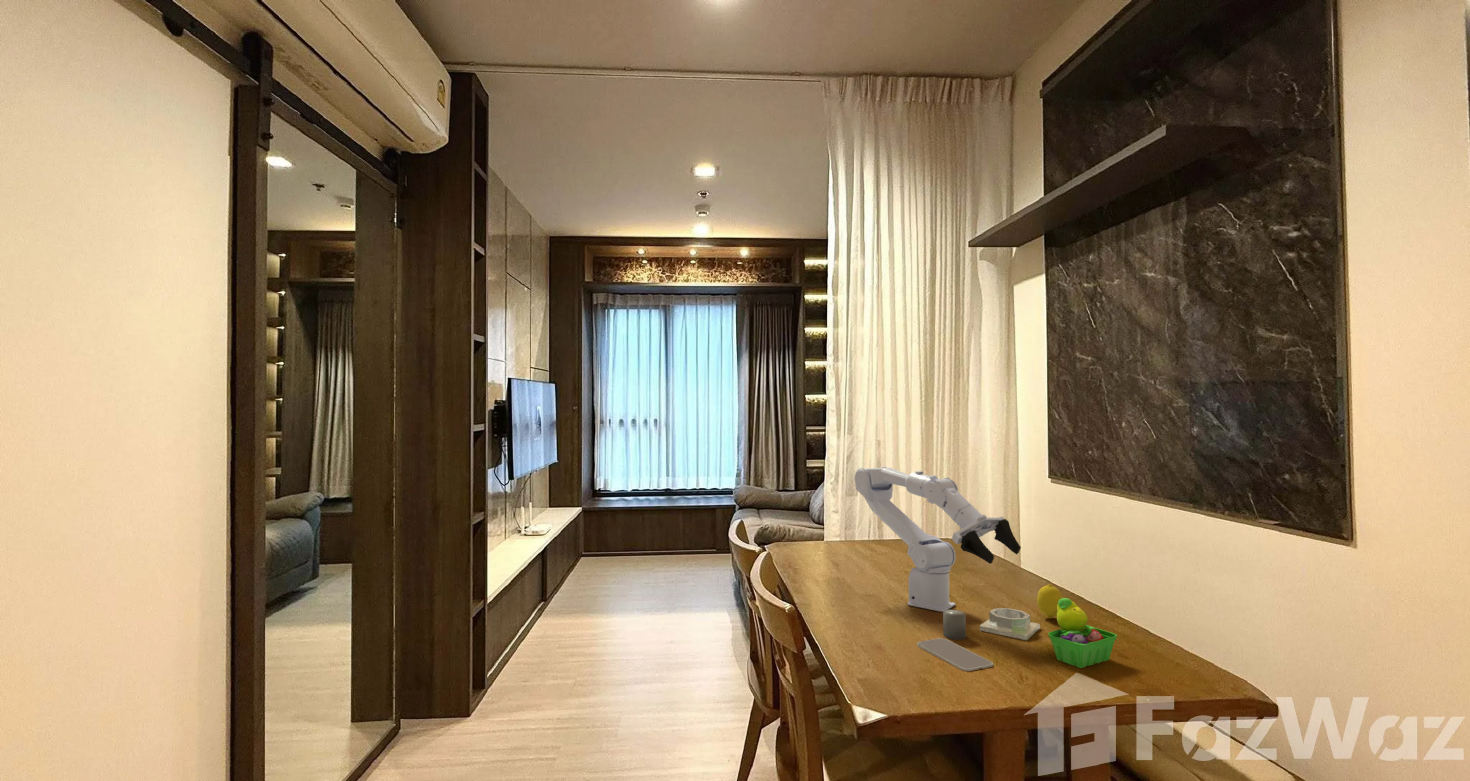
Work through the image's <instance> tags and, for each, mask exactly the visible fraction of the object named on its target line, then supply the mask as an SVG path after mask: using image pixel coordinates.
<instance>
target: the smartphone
mask: <svg viewBox="0 0 1470 781" xmlns="http://www.w3.org/2000/svg"><path fill="white" fill-rule="evenodd" d="M916 646H917V647H918V648H920V649H921V650H924V651H925V652H927V653H929V654H931V655H933V656H935V657H936V658H938V659H940V660H942V661H944V662H946V663H948V664H949V665H951V666H952V667H955V668H957V669H959V670H961V671H963V672H973V671H976V670H980V669H981V670H983V669H989V668H993V667H994V663H993V661H991V660H988V659H986V658H984V657H983V656H981V655H979V654H977V653H975V652H973V651H971V650H968V649H966V648H965V647H962V646H960V645H959V644H957V643H954V642H953V641H951V640H949V639H948V638H945V637H943V638H934V639H928V640H927V639H926V640H920V641H918V642H917V645H916Z"/></svg>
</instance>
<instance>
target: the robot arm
mask: <svg viewBox="0 0 1470 781" xmlns="http://www.w3.org/2000/svg"><path fill="white" fill-rule="evenodd" d="M854 485H855V486H854V487H855V490H856V491H857V492H858V493H859V494H860V495H861V496H862V497H863V498H864V500H865V501H866V503H867V505H868V507H869V508H870V510H871V511H872V512H873V513H874V514H875V515H876V516H877V517H878V518H879V519H880V520H881V521H882V522H883V523H884V524H885V525H886V526H888V528H889V529H890V530H892V531H893V533H895V535H897V536H898V538H900V539H901V540H902V541H903V542H904V543H905V544H906V545H907V546H908V547H907V556H909V558H910V559H911V560H912V562H913V565H914V566H915V567H912V568H911V570H910V571H909V574H908V602H907V605H908V606H911V607H915V608H921V609H927V610H932V611H936V612H941V613H943V611H945V610H951V608H953V607H955V606H956V602H952V601H950V571H952V566H953V565H954V564H955V562H956V559H957V558H956V556H957V555H956V551H955V548H954V547H953V545H952V544H951V543H949V542H948V541H943V540H942V539H941V538H940V537H938V536H935V535H933V534H928V533H926V532H925V531H924V530H923V529H922V528H921V527H920V526H919V525H917V524H916V523H915V522H914V521H913V520H912V519H910V517H909V516H908V515H906V514H905V513H904V512H903V510H901V509H900V508H899V507H898V506H897V505H895V504H894V502H892V501H891V500H892V498H893V491H894V489H893V487H894V485H896V486H900V487H904V488H906V491H907V492H908V493H910V494H912V495H914V496H918V497H921V498H924V499H926V501H927V502H928V503H929V504H932V505H933V504H935V505H936V506H937V507H939V508H940V509H941V510H943V511H944V513H946V515H948V517H949V518H950V519H952V521H953V522H954V523H955V524H956V525H957V526H958V527H959V528H960V529H958V530H957V531H955V532H953V533H952V537H951V540H952V541H953V542H954V543H955V544H956V545H960V549H961V550H962V551H963V552H965V553H966V552H967V553H969V554H972V555H974V556H976V557H978V558H980V559H982V560H983V561H984V562H986V563H989V564H993V561H994V559H995V555H994V554H993V553H992V551H990V549H989V548H988V547H987V546H986V545H985V544H984V542H983V541H982V540H981V537H983V536H984V535H986V534H988V533H989V532H992V531H994V533H995V536H994V540H996V541H998V542H1000V543H1001V544H1003V545H1004V546H1005V547H1007V549H1009V550H1010V551H1011V552H1012V553H1014V554H1015V555H1018V554H1019V553H1020V551H1021V548H1022V547H1021V545H1020V544H1019V543H1018V541H1017V539H1016V537H1015V535H1014V533H1013V532H1012V529H1011V525H1010V521H1008V519H1006V518H1004V516H1000V517H999V516H998V517H987V515H985V514H982V513H981V512H980V511H979V510H978V509H977V508H976V507H974V505H972V504H971V502H969V500H967V499H966V497H965V496H963V494H961V493H960V492H959V490H958V485H957V483H956V482H955V481H954V480H953V479H952V478H949V477H944V478H938V477H937V475H934V474H933V475H932V474H931V475H928V474H924V471H922V470H915V471H913V472H911V473H910V474H909V473H907V472H903V471H900V470H897V469H894V468H892V467H887V466H882V467H871V468H870V467H869V468H864V467H863V468H862V467H861V468H858V469H857V470H856V471H855V474H854Z"/></svg>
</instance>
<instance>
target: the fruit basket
mask: <svg viewBox="0 0 1470 781" xmlns="http://www.w3.org/2000/svg"><path fill="white" fill-rule="evenodd" d="M1057 610H1058V612H1057V616H1056V621H1057V624H1058V625H1059V626H1058V627H1060V629H1057V630H1053V631H1050V632H1048V633H1047V634H1048V637H1049V639H1050V641H1051V644H1052V645H1051V646H1052V648H1053V650H1054V654H1055V658H1056V660H1058V661H1060V662H1063V663H1066V664H1067V665H1071V666H1074V667H1077V668H1079V669H1082V668H1083V669H1084V668H1086V667H1089V666H1094V665H1095V664H1096V663H1097V664H1100V663H1102V662H1107V661H1110V659H1111V655H1112V654H1111V653H1112V651H1113V647H1114V644H1115V641H1116V640H1117V637H1118V635H1117V634H1115V633H1114V632H1110V631H1107V630H1105V629H1100V628H1096V627H1094V626H1091V625H1087V622H1088V619H1089V618H1088V615H1087V613H1086V612H1085V611H1084V609H1082V608H1081V607H1080V606H1079V605H1077V604H1076V603H1075V601H1072V599H1070V598H1068V597H1062V599H1060V600H1059V601H1058V605H1057ZM1094 663H1095V664H1094Z"/></svg>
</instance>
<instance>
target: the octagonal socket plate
mask: <svg viewBox="0 0 1470 781" xmlns="http://www.w3.org/2000/svg"><path fill="white" fill-rule="evenodd" d="M988 613H989V615H988V616H989V618H988V619H986V620H985V621H984V622H983V623H981V624H980V625H979V631H981V632H986V633H990V634H996V635H1000V636H1005V637H1009V638H1014V639H1018V640H1023V641H1028V640H1029V639H1030V638H1032V637H1033V635H1034V634H1036V632H1038V631H1039V630H1040V629H1041V624H1040V623H1038V622H1031V615H1030V614H1028V613H1027V612H1025V611H1023V610H1019V609H1014V608H1008V607H1005V608H1004V607H1001V608H998V607H997V608H993V609H991V610H989V612H988Z"/></svg>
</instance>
